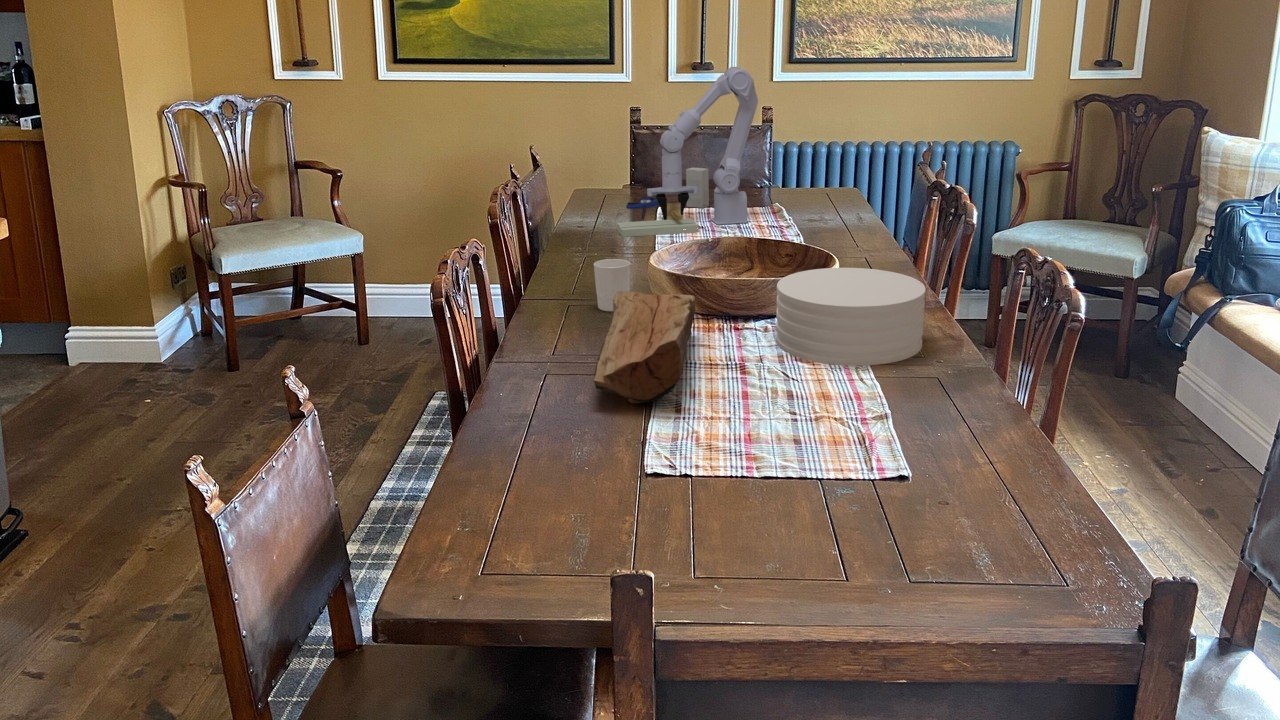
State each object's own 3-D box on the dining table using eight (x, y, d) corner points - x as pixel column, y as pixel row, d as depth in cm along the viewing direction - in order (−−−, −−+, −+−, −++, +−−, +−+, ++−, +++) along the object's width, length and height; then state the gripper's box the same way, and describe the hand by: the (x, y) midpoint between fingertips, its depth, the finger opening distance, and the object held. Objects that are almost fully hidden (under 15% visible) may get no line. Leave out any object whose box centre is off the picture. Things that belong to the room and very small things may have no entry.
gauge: (677, 222, 319) (677, 200, 316) (687, 231, 307) (686, 208, 305) (664, 223, 318) (664, 201, 316) (673, 232, 306) (672, 209, 304)
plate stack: (837, 313, 229) (839, 260, 225) (951, 342, 209) (955, 285, 205) (746, 342, 212) (746, 286, 208) (860, 377, 192) (863, 315, 188)
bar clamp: (627, 196, 349) (658, 195, 348) (628, 203, 350) (658, 203, 349) (622, 220, 319) (655, 220, 318) (622, 228, 320) (655, 228, 319)
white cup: (618, 314, 231) (617, 269, 228) (588, 309, 235) (586, 265, 232) (638, 305, 237) (637, 261, 234) (608, 300, 241) (606, 257, 238)
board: (691, 225, 315) (691, 218, 314) (698, 232, 306) (698, 224, 305) (616, 229, 312) (616, 222, 311) (622, 236, 302) (622, 229, 302)
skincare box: (709, 206, 341) (709, 168, 337) (702, 208, 338) (702, 170, 334) (692, 204, 344) (692, 167, 340) (685, 207, 341) (685, 169, 337)
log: (678, 411, 176) (685, 321, 173) (572, 401, 178) (578, 311, 175) (696, 366, 217) (703, 293, 215) (611, 358, 219) (616, 285, 217)
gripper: (693, 169, 316) (693, 214, 321) (644, 171, 314) (645, 217, 319) (698, 172, 310) (699, 219, 314) (649, 175, 307) (650, 222, 312)
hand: (672, 219), depth 316 cm, fingers closed on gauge, 4 cm apart
